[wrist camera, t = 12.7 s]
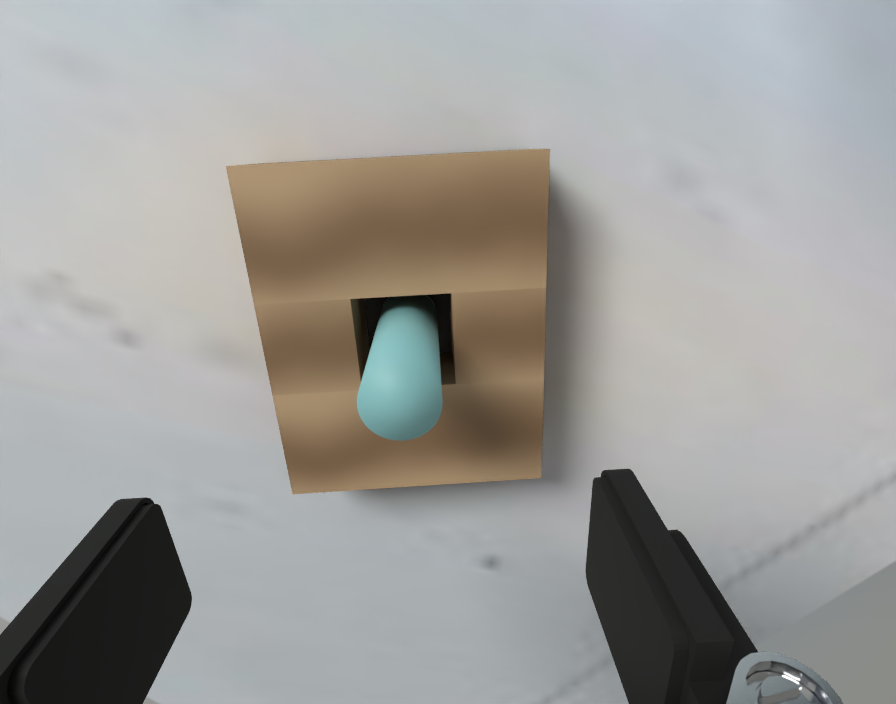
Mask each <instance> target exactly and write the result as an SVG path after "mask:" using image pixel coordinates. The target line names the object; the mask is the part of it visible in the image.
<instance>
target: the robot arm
mask: <svg viewBox="0 0 896 704" xmlns="http://www.w3.org/2000/svg"><path fill="white" fill-rule="evenodd" d="M586 578H587V584H588V587H589V590H590V593H591V596H592V599H593V602H594V605H595V608H596V610H597V613H598V616H599V619H600V622H601V625H602V628H603V630H604V633H605V636H606V639H607V642H608V645H609V648H610V651H611V653H612V656H613V659H614V662H615V665H616V668H617V671H618V673H619V676H620V679H621V682H622V685H623V688H624V691H625V693H626V696H627V699H628V702H629V704H843V702H842V700H841V698H840V697H839V696H838V694H837V693H836V692H835V691H834V689H833V688H832V687H831V686H830V685H829V683H828V682H827V681H825V680H824V679H823V678H822V677H821V676H819V675H818V674H817V673H816V672H815V671H813V670H812V669H811V668H809V667H807V666H806V665H804V664H802V663H801V662H799V661H797V660H795V659H793V658H790V657H787V656H784V655H782V654H779V653H771V652H764V651H763V652H758V651H757V649H756V648H755V646H754V645H753V643H752V642H751V640H750V638H749V637H748V635H747V634H746V632H745V631H744V629H743V627H742V626H741V624H740V623H739V621H738V619H737V618H736V616H735V615H734V613H733V612H732V610H731V608H730V607H729V605H728V604H727V602H726V601H725V599H724V597H723V596H722V594H721V593H720V591H719V590H718V588H717V586H716V585H715V583H714V582H713V580H712V578H711V577H710V575H709V574H708V572H707V571H706V569H705V567H704V566H703V564H702V563H701V561H700V560H699V558H698V556H697V555H696V553H695V552H694V550H693V549H692V547H691V545H690V544H689V542H688V541H687V539H686V538H685V537H684V535H683V534H682V533H681V532H680V531H678V530H667V528H666V526H665V525H664V523H663V521H662V520H661V518H660V516H659V515H658V513H657V511H656V510H655V508H654V506H653V505H652V503H651V501H650V500H649V498H648V496H647V495H646V493H645V491H644V490H643V488H642V486H641V485H640V483H639V481H638V480H637V478H636V476H635V475H634V473H633V472H632V470H630V469H617V470H604V471H602V474H601V477H598V478H594V480H593V487H592V499H591V511H590V524H589V536H588V548H587V560H586ZM191 602H192V595H191V591H190V589H189V586H188V583H187V580H186V577H185V574H184V571H183V569H182V566H181V563H180V560H179V557H178V554H177V551H176V549H175V546H174V543H173V540H172V537H171V534H170V531H169V528H168V526H167V523H166V520H165V517H164V514H163V511H162V509H161V507H160V506H159V505H158V504H154V502H153V501H152V500H151V499H150V498H132V499H120V500H117V501H116V502H115V503H114V504H113V505H112V506H111V507H110V508H109V510H108V511H107V512H106V513H105V514H104V515H103V516H102V518H101V519H100V520H99V521H98V522H97V523H96V525H95V526H94V527H93V528H92V529H91V530H90V532H89V533H88V534H87V535H86V536H85V537H84V538H83V540H82V541H81V542H80V543H79V544H78V545H77V547H76V548H75V549H74V550H73V551H72V552H71V554H70V555H69V556H68V557H67V558H66V559H65V560H64V562H63V563H62V564H61V565H60V566H59V567H58V569H57V570H56V571H55V572H54V573H53V574H52V576H51V577H50V578H49V579H48V580H47V581H46V582H45V584H44V585H43V586H42V587H41V588H40V589H39V591H38V592H37V593H36V594H35V595H34V596H33V598H32V599H31V600H30V601H29V602H28V603H27V605H26V606H25V607H24V608H23V609H22V610H21V611H20V613H19V614H18V615H17V616H16V617H15V618H14V620H13V621H12V622H11V623H10V624H9V625H8V627H7V628H6V629H5V630H4V631H3V632H2V634H1V635H0V704H143V702H144V700H145V698H146V696H147V694H148V692H149V690H150V688H151V686H152V684H153V682H154V680H155V678H156V676H157V674H158V672H159V670H160V668H161V666H162V664H163V662H164V660H165V658H166V656H167V654H168V652H169V650H170V649H171V647H172V645H173V643H174V641H175V639H176V637H177V635H178V633H179V631H180V629H181V627H182V625H183V623H184V621H185V619H186V617H187V615H188V613H189V611H190V607H191Z"/></svg>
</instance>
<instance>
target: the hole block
mask: <svg viewBox="0 0 896 704" xmlns="http://www.w3.org/2000/svg"><path fill="white" fill-rule="evenodd" d="M549 160H550V149H523V150H504V151H485V152H467V153H448V154H430V155H411V156H392V157H374V158H355V159H337V160H318V161H299V162H281V163H262V164H248V165H236V166H226V169H227V174H228V179H229V184H230V189H231V194H232V199H233V203H234V208H235V213H236V218H237V223H238V228H239V233H240V238H241V243H242V248H243V253H244V257H245V262H246V267H247V272H248V277H249V282H250V287H251V292H252V297H253V302H254V307H255V311H256V316H257V321H258V326H259V331H260V336H261V341H262V346H263V351H264V356H265V361H266V365H267V370H268V375H269V380H270V385H271V390H272V395H273V400H274V405H275V410H276V415H277V419H278V424H279V429H280V434H281V439H282V444H283V449H284V454H285V459H286V464H287V469H288V473H289V478H290V483H291V488H292V493H293V494H301V493H317V492H333V491H348V490H364V489H379V488H395V487H411V486H426V485H442V484H457V483H473V482H488V481H504V480H520V479H535V478H542V438H543V399H544V359H545V319H546V279H547V239H548V200H549ZM446 293H449V302H450V322H451V342H452V353H440V369H441V385H442V412H441V415H440V417H439V419H438V421H437V423H436V424H435V425H434V426H433V428H432V429H430V430H429V431H428V432H427V433H425V434H424V435H422V436H420V437H417V438H415V439H411V440H404V441H396V440H390V439H386V438H383V437H381V436H379V435H377V434H375V433H374V432H372V431H371V430H370V429H369V428H368V427H367V426H366V425H365V424H364V423H363V421H362V420H361V418H360V416H359V413H358V409H357V395H358V391H359V387H360V384H361V380H362V377H363V373H364V370H365V366H366V363H367V359H368V356H369V352H370V347H369V339H368V330H367V322H366V313H365V305H364V298H377V297H395V296H412V295H429V294H446Z"/></svg>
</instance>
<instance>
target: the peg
mask: <svg viewBox="0 0 896 704" xmlns="http://www.w3.org/2000/svg"><path fill="white" fill-rule="evenodd" d="M357 409H358V413H359V416H360V418H361V420H362V421H363V423H364V424H365V425H366V426H367V427H368V428H369V429H370V430H371V431H372V432H374V433H375V434H377V435H379V436H381V437H383V438H386V439H390V440H396V441H404V440H411V439H415V438H417V437H420V436H422V435H424V434H425V433H427V432H428V431H429V430H430V429H432V428H433V426H434V425H435V424H436V423H437V421H438V419H439V417H440V415H441V412H442V385H441V369H440V352H439V336H438V320H437V310H436V307H435V305H434V303H433V301H432V300H431V299H430V298H429V297H428V296H427V295H412V296H395V297H388V298H387V300H386V301H385V303H384V304H383V307H382V310H381V314H380V317H379V321H378V324H377V328H376V331H375V335H374V338H373V342H372V345H371V349H370V352H369V356H368V359H367V363H366V366H365V370H364V373H363V377H362V380H361V384H360V387H359V391H358V395H357Z"/></svg>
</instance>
